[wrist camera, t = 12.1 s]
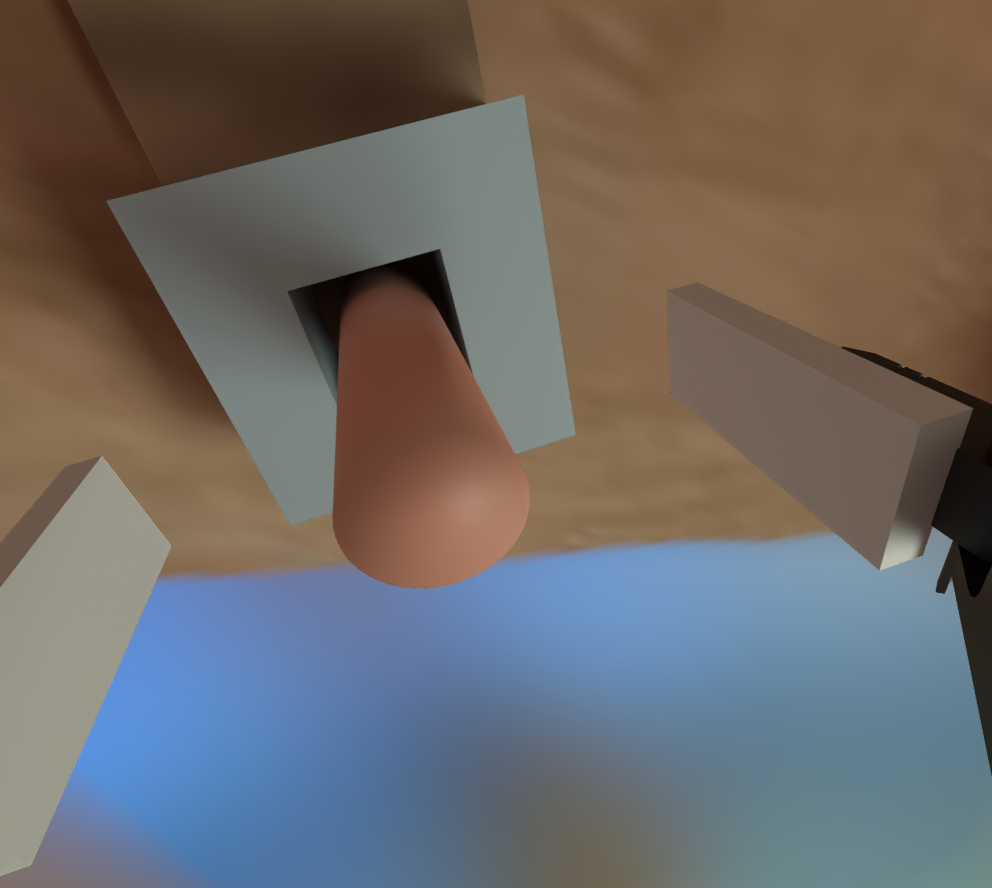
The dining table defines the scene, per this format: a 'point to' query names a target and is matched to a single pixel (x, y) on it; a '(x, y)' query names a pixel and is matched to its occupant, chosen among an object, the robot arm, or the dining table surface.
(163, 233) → the socket
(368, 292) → the peg
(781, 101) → the dining table surface
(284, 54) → the board
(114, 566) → the robot arm
